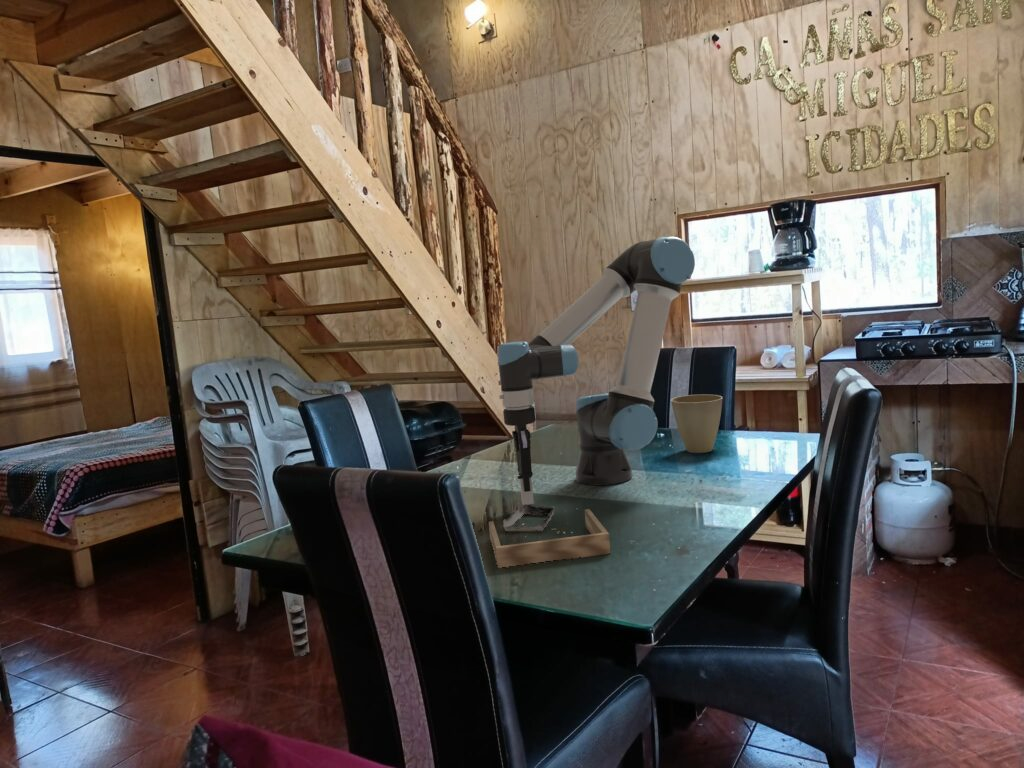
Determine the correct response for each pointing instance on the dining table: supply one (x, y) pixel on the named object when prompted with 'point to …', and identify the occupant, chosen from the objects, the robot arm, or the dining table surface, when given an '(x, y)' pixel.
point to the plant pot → (698, 420)
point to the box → (553, 546)
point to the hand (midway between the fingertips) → (527, 503)
